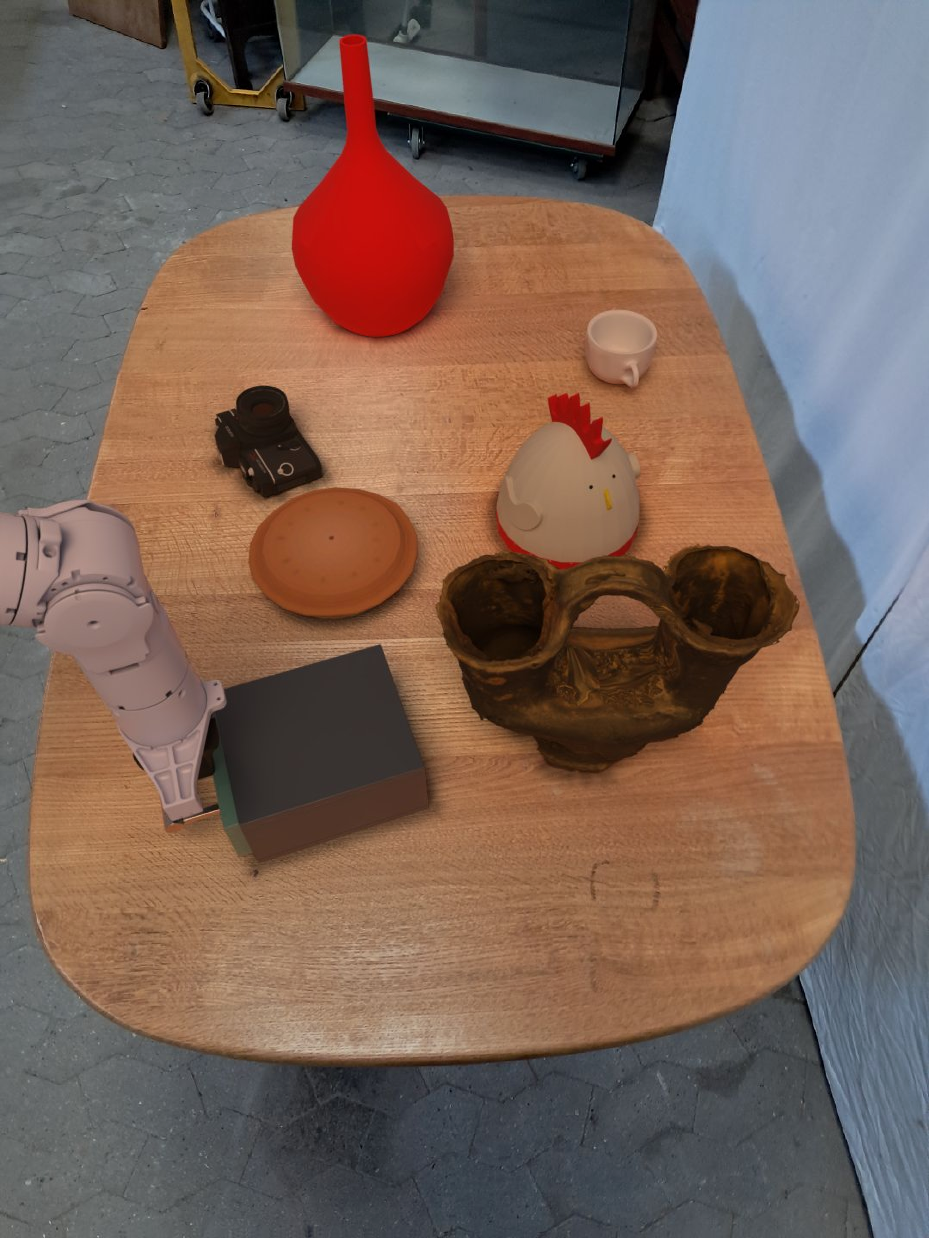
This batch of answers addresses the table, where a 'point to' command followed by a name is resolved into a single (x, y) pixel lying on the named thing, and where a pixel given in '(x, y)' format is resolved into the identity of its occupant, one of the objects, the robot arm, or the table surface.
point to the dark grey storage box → (319, 753)
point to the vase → (371, 225)
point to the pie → (333, 552)
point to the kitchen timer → (570, 490)
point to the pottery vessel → (608, 645)
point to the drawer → (216, 806)
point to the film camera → (265, 442)
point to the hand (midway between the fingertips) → (199, 771)
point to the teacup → (620, 346)
